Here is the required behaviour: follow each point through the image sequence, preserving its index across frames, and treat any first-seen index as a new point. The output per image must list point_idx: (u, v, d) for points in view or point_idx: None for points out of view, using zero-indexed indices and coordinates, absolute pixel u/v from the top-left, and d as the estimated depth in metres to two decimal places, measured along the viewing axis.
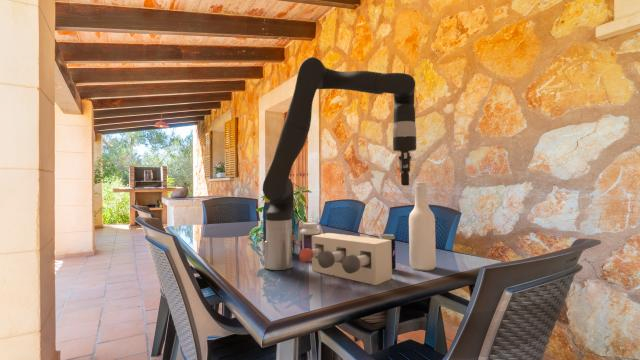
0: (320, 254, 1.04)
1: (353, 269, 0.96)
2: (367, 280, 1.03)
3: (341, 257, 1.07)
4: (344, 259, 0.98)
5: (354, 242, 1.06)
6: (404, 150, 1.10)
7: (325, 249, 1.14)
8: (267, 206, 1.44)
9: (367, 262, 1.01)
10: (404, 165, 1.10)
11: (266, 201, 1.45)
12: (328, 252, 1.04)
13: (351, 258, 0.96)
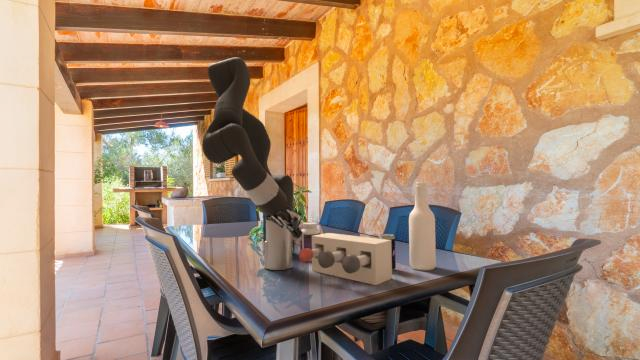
0: (320, 254, 1.04)
1: (353, 269, 0.96)
2: (367, 280, 1.03)
3: (341, 257, 1.07)
4: (344, 259, 0.98)
5: (354, 242, 1.06)
6: (285, 207, 0.88)
7: (325, 249, 1.14)
8: None
9: (367, 262, 1.01)
10: (290, 222, 0.92)
11: None
12: (328, 252, 1.04)
13: (351, 258, 0.96)
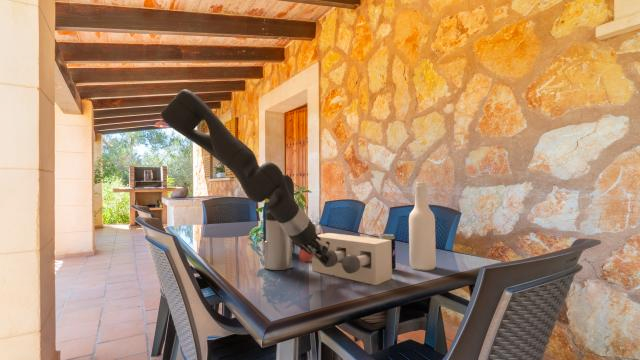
0: None
1: (353, 269, 0.96)
2: (367, 280, 1.03)
3: (344, 256, 1.08)
4: (344, 259, 0.98)
5: (354, 242, 1.06)
6: (314, 237, 0.95)
7: None
8: None
9: (367, 262, 1.01)
10: (318, 249, 1.00)
11: (266, 201, 1.45)
12: (331, 251, 1.04)
13: (351, 258, 0.96)
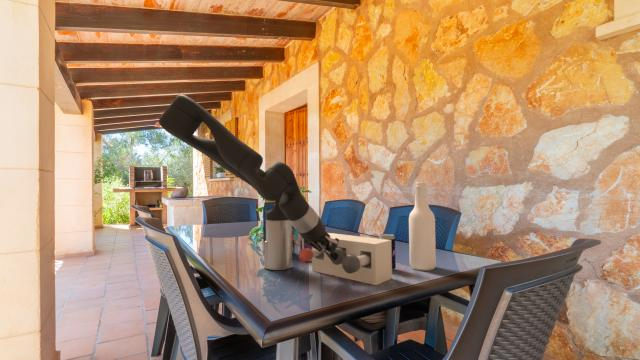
0: None
1: (353, 269, 0.96)
2: (367, 280, 1.03)
3: None
4: (344, 259, 0.98)
5: (354, 242, 1.06)
6: (324, 234, 0.98)
7: None
8: (267, 206, 1.44)
9: (367, 262, 1.01)
10: (328, 246, 1.03)
11: (266, 201, 1.45)
12: (340, 249, 1.08)
13: (351, 258, 0.96)
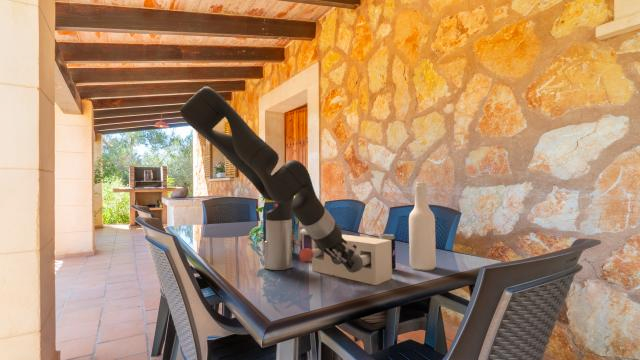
0: None
1: (356, 268, 0.97)
2: (367, 280, 1.03)
3: None
4: None
5: (354, 242, 1.06)
6: (340, 240, 0.89)
7: None
8: (267, 206, 1.44)
9: (369, 261, 1.02)
10: (344, 253, 0.93)
11: (266, 201, 1.45)
12: None
13: (354, 257, 0.97)
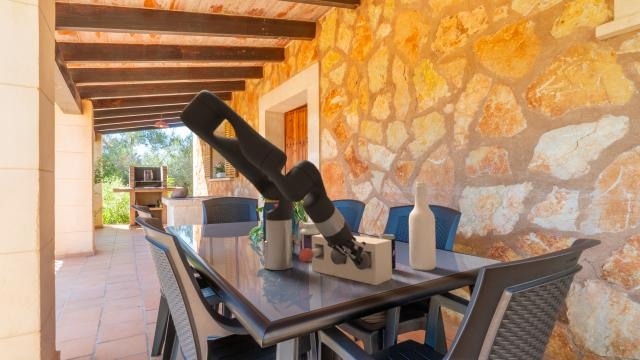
0: (333, 251, 1.09)
1: (364, 265, 1.00)
2: (367, 280, 1.03)
3: None
4: None
5: None
6: (350, 238, 0.92)
7: (325, 249, 1.14)
8: (267, 206, 1.44)
9: None
10: (353, 250, 0.96)
11: (266, 201, 1.45)
12: None
13: (362, 255, 1.01)
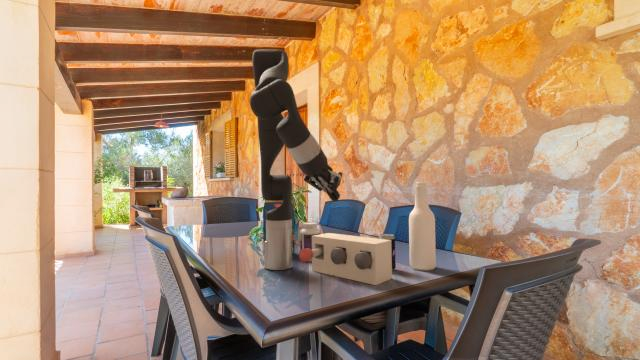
0: (333, 251, 1.09)
1: (365, 265, 1.00)
2: (367, 280, 1.03)
3: None
4: (357, 256, 1.02)
5: (354, 242, 1.06)
6: (326, 167, 0.89)
7: (325, 249, 1.14)
8: (267, 206, 1.44)
9: None
10: (330, 183, 0.94)
11: (266, 201, 1.45)
12: (340, 249, 1.08)
13: (363, 255, 1.01)
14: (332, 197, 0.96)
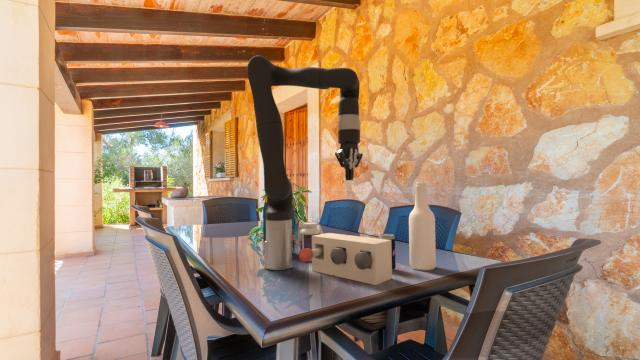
0: (333, 251, 1.09)
1: (365, 265, 1.00)
2: (367, 280, 1.03)
3: None
4: (357, 256, 1.02)
5: (354, 242, 1.06)
6: None
7: (325, 249, 1.14)
8: None
9: None
10: None
11: (266, 201, 1.45)
12: (340, 249, 1.08)
13: (363, 255, 1.01)
14: (352, 174, 1.17)
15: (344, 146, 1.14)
